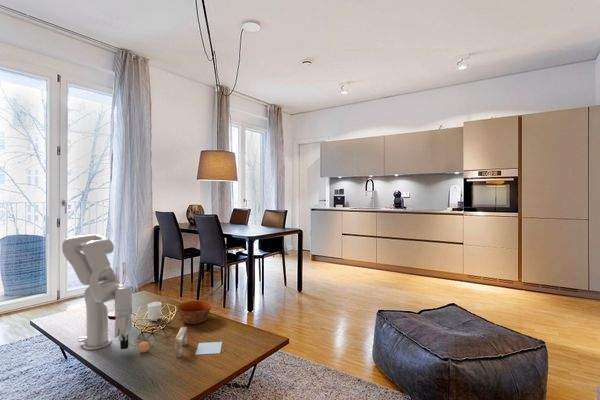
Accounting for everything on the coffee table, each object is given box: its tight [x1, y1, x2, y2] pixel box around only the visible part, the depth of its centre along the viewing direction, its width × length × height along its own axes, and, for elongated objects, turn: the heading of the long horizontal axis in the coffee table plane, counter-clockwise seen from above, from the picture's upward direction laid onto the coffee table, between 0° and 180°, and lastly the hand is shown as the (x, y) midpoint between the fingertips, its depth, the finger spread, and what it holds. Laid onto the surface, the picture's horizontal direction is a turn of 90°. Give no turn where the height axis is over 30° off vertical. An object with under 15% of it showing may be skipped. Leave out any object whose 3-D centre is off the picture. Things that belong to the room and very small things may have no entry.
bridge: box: [174, 326, 188, 358], centre depth 166 cm, size 3×14×9 cm, turn 9°
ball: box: [137, 341, 150, 354], centre depth 164 cm, size 5×5×5 cm
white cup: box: [147, 301, 162, 320], centre depth 203 cm, size 8×8×10 cm
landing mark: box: [194, 341, 223, 356], centre depth 169 cm, size 12×12×1 cm
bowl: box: [176, 300, 213, 325], centre depth 202 cm, size 21×21×10 cm
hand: (124, 348), depth 162 cm, fingers closed
